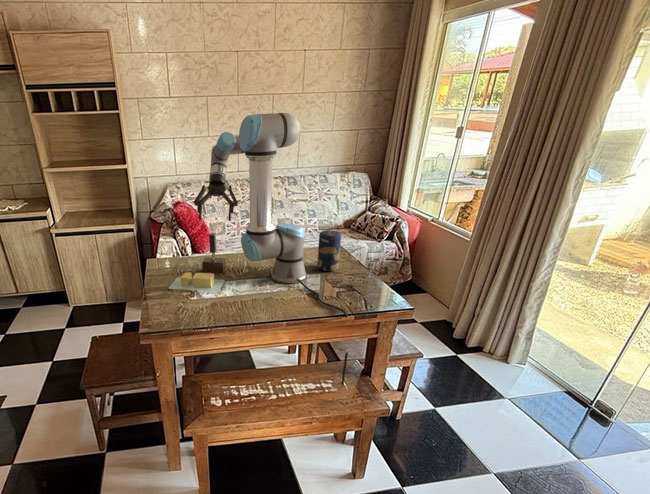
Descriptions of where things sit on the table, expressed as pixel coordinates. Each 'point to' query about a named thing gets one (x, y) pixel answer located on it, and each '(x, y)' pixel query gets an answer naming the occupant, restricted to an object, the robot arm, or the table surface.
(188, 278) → the butter pat
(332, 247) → the canister
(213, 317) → the table surface
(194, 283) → the butter block
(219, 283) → the butter dish
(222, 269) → the knife block
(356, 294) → the table surface
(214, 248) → the knife
